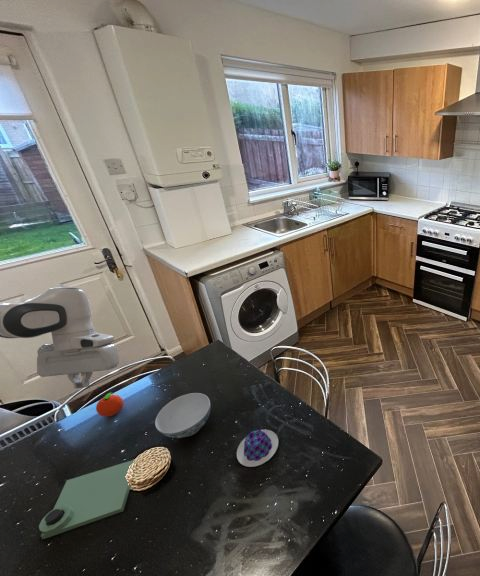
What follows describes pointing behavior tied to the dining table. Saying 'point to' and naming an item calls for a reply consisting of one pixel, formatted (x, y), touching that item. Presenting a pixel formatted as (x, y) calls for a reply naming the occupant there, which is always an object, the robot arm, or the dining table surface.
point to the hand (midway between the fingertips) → (82, 387)
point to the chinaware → (183, 415)
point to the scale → (90, 499)
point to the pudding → (257, 448)
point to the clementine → (109, 405)
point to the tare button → (54, 516)
